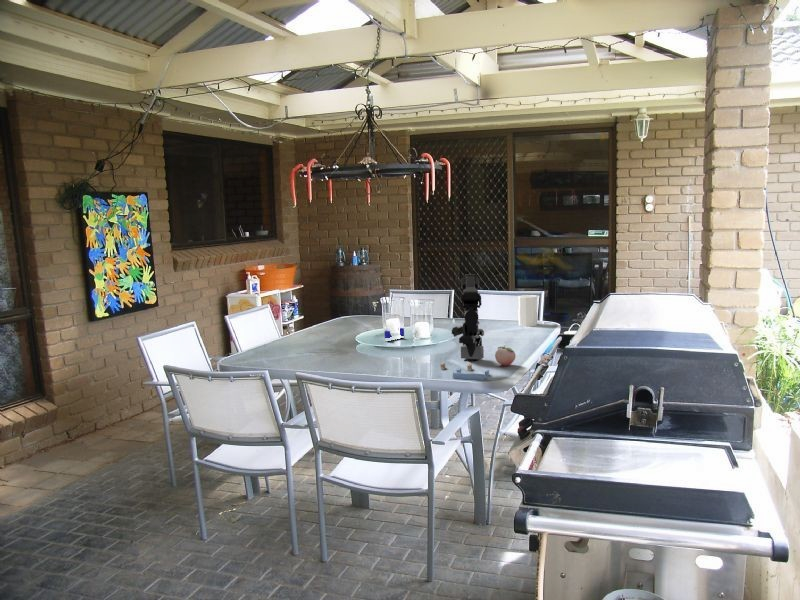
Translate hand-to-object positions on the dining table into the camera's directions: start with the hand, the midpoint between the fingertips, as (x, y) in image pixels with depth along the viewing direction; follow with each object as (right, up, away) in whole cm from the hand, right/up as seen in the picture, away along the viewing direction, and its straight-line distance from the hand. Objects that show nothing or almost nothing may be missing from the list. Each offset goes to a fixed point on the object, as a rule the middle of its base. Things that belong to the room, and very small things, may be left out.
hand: (472, 355), depth 269 cm
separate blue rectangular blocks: (-1, -9, -1) cm, 9 cm away
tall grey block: (0, -1, 0) cm, 1 cm away
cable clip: (-35, +1, +87) cm, 94 cm away
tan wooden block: (-6, -8, +12) cm, 15 cm away
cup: (+47, +8, +111) cm, 120 cm away
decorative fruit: (+16, -7, +14) cm, 22 cm away
